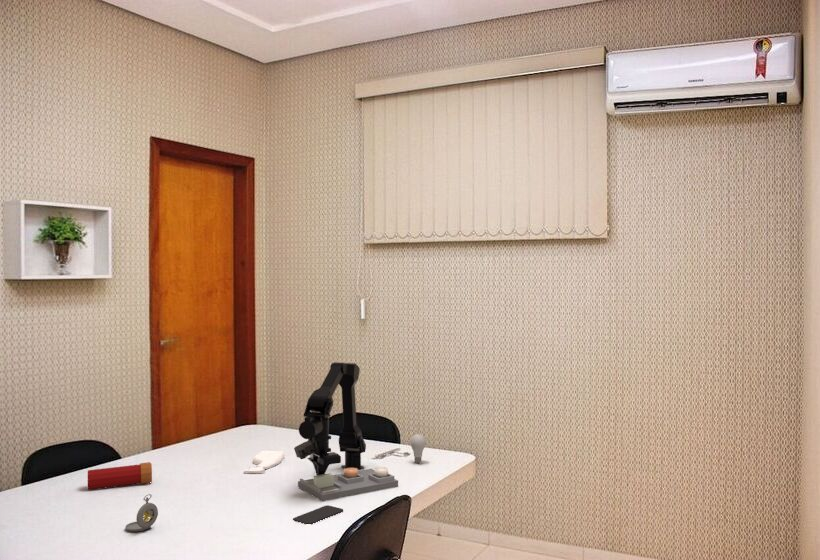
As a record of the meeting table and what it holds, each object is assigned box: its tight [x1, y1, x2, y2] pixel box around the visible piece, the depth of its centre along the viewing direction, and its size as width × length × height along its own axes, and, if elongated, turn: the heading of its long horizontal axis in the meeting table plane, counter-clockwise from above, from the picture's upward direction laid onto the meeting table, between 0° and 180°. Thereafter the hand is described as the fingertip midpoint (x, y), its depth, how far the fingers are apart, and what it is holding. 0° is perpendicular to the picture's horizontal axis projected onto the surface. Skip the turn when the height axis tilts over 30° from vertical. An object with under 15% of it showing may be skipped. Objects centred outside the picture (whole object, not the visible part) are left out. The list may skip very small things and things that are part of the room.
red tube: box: [87, 462, 153, 491], centre depth 227 cm, size 7×20×7 cm, turn 114°
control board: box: [297, 468, 399, 502], centre depth 226 cm, size 18×28×4 cm, turn 124°
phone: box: [292, 505, 344, 525], centre depth 198 cm, size 7×1×15 cm
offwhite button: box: [374, 466, 389, 477], centre depth 228 cm, size 5×5×2 cm
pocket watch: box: [125, 493, 159, 533], centre depth 186 cm, size 8×8×10 cm
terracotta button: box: [343, 468, 359, 477], centre depth 227 cm, size 5×5×2 cm
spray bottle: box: [243, 450, 286, 474], centre depth 254 cm, size 3×11×24 cm
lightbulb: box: [409, 433, 427, 464], centre depth 257 cm, size 6×6×11 cm
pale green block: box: [313, 472, 335, 488], centre depth 220 cm, size 2×6×4 cm, turn 124°
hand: (319, 480), depth 222 cm, fingers closed
